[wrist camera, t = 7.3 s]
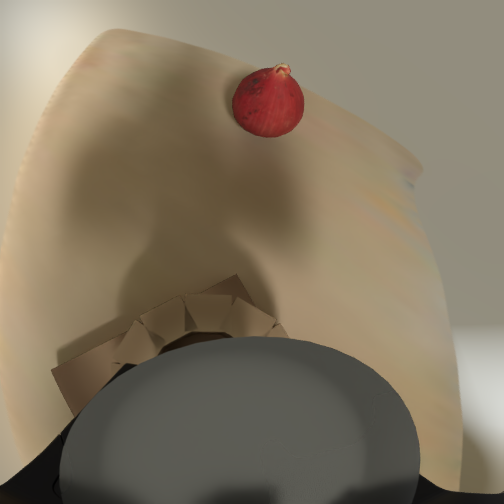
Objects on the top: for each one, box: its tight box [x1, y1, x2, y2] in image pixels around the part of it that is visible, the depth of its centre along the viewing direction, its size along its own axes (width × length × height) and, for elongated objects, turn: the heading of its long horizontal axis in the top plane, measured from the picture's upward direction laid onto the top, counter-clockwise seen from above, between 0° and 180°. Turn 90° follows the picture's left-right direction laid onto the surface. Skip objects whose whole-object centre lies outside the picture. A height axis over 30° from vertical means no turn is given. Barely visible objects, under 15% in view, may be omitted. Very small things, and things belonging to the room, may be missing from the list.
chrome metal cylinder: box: [60, 336, 420, 504], centre depth 8 cm, size 5×5×13 cm
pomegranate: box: [232, 63, 304, 138], centre depth 22 cm, size 6×6×8 cm
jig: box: [51, 274, 290, 417], centre depth 14 cm, size 15×18×4 cm
